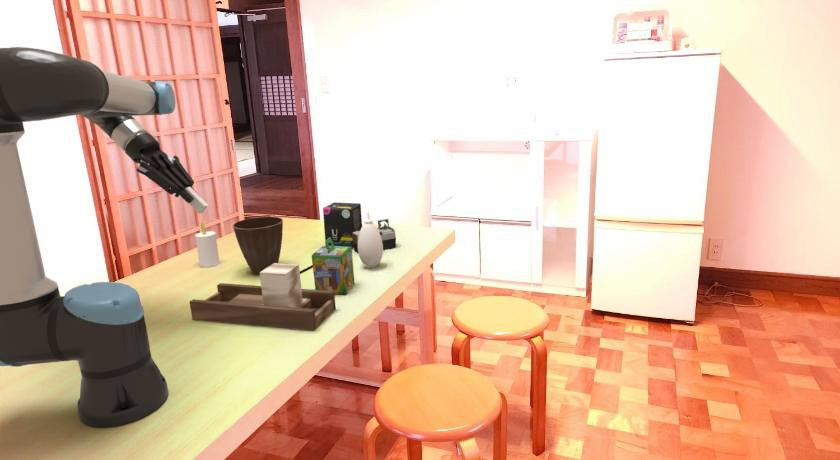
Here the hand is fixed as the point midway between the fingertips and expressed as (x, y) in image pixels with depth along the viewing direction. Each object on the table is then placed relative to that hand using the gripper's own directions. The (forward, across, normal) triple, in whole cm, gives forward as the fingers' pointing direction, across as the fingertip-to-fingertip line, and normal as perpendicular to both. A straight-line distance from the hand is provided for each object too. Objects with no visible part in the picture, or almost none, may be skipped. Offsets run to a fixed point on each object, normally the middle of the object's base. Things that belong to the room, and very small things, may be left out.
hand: (203, 209), depth 136 cm
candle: (0, -35, -39) cm, 53 cm away
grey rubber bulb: (+39, -41, -1) cm, 57 cm away
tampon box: (+25, -62, -13) cm, 68 cm away
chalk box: (+36, -22, -4) cm, 43 cm away
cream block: (+31, -2, -5) cm, 31 cm away
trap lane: (+28, -2, -12) cm, 30 cm away
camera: (+35, -59, -4) cm, 69 cm away
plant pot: (+15, -32, -24) cm, 43 cm away
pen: (+25, -34, -15) cm, 45 cm away
